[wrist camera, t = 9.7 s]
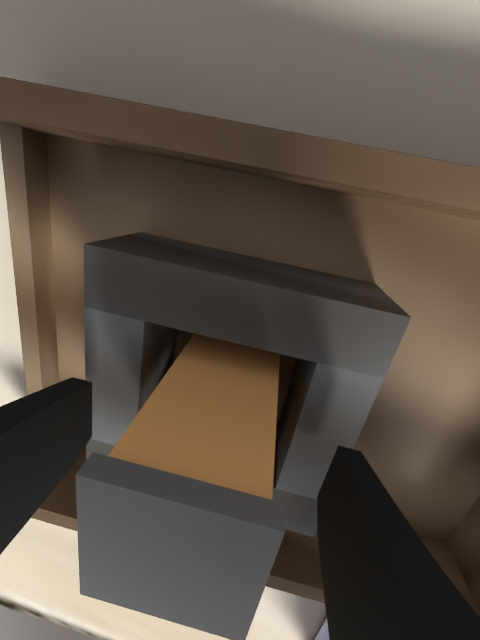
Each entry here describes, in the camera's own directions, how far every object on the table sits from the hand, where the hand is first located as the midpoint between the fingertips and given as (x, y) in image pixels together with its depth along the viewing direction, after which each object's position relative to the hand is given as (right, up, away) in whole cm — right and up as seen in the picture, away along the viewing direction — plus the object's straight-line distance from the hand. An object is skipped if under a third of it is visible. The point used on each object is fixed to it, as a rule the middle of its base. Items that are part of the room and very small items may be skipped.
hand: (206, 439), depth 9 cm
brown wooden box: (+3, +1, +5) cm, 5 cm away
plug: (+1, +2, +4) cm, 5 cm away
